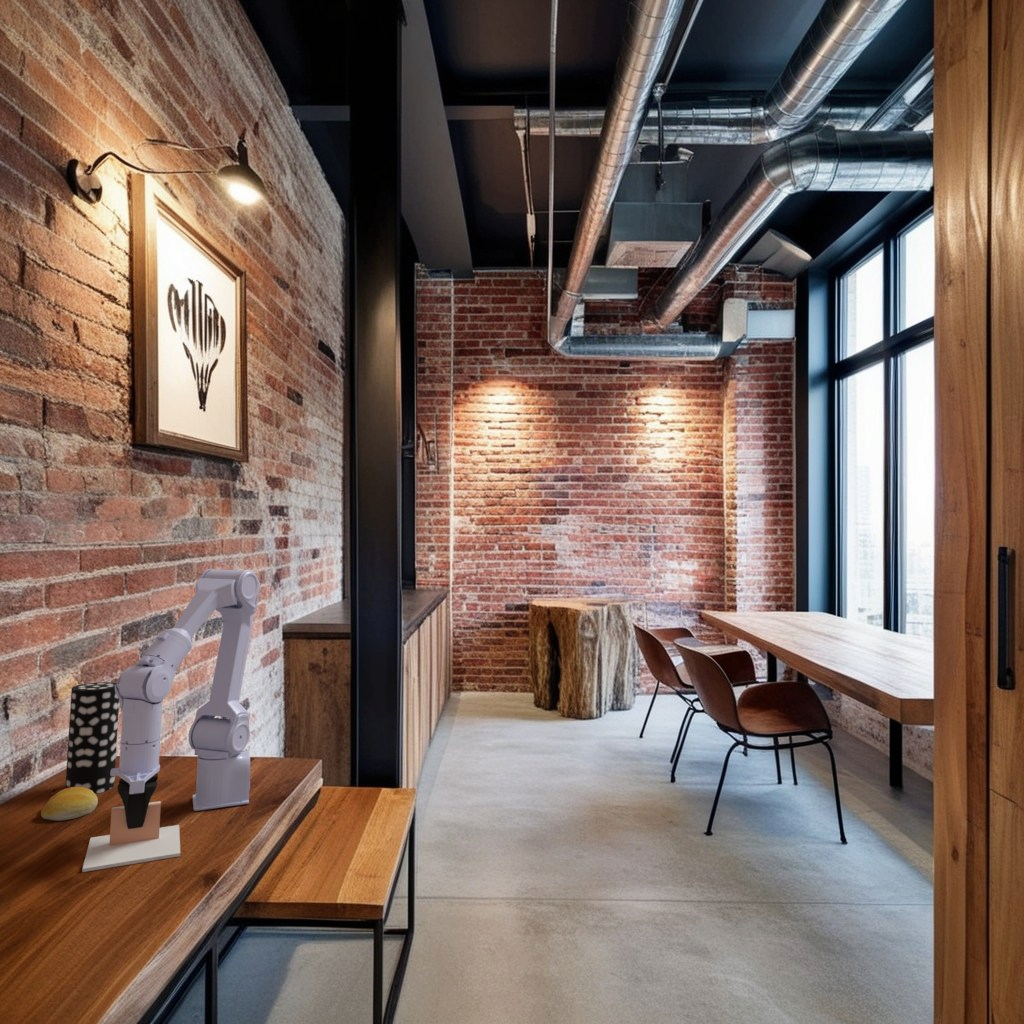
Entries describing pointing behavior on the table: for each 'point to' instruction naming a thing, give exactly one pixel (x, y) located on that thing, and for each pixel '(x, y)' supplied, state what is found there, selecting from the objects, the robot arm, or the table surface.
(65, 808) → the bread roll
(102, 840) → the mat
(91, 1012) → the table surface
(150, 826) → the tile
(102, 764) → the spotted tube
